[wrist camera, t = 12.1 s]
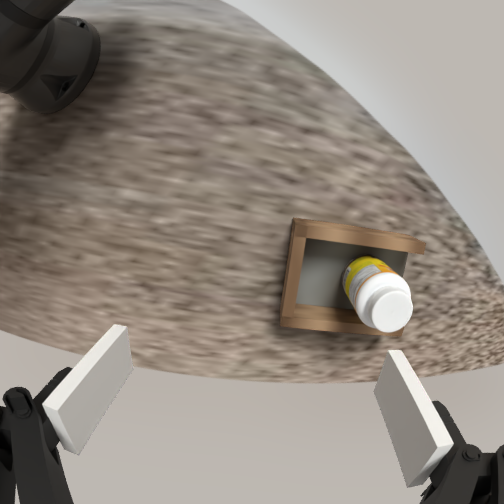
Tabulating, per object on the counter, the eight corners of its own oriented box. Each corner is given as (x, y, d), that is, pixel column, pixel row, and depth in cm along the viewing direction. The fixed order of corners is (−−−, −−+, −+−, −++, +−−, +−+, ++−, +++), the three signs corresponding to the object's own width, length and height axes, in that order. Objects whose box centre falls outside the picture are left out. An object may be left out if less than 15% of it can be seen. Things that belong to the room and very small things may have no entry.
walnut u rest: (408, 235, 33) (425, 243, 28) (388, 318, 36) (401, 336, 31) (293, 217, 34) (295, 223, 29) (280, 307, 36) (280, 326, 32)
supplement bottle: (392, 283, 33) (428, 321, 24) (352, 306, 34) (375, 351, 25) (374, 243, 33) (409, 270, 23) (332, 267, 34) (352, 303, 24)
